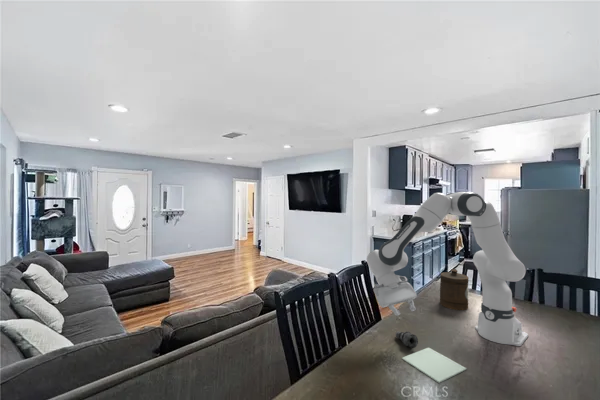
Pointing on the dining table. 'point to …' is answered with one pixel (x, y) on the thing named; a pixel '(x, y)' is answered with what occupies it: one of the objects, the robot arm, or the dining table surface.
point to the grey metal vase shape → (407, 339)
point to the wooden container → (454, 290)
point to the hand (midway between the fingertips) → (406, 312)
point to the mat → (434, 364)
